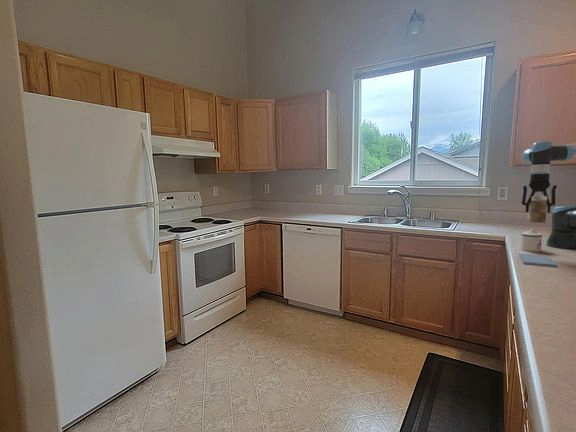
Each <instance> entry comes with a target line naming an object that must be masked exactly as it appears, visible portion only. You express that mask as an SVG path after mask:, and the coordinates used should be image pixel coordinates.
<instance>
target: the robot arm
mask: <svg viewBox="0 0 576 432" xmlns="http://www.w3.org/2000/svg"><path fill="white" fill-rule="evenodd" d="M522 158H523V160H524V162H525V163H530V164H531V165H530V173H531V174H530V179H529V181H530V182H529V183H528V184H525V185H522V197H521V198H522V199H521V205H523V206H525V213H527V219H528V220H529V219H530V213H531V206H530V202H531V197H532V196H535V193H536V192H537V193H539V192H541V193H542V196H547V207H546V221H547V220H548V214H550V212H551V207H552V206H555V207H554V208H553V210H552V214H551V216H552V218H551V232H550V234H549V235H548V238H547V240H546V246H547V247H551V248H559V249H566V250H567V249H568V250H569V249H570V250H576V205H569V206H568V205H567V206H566V205H565V206H556V190H557V188H558V187H557V185H555V184H551V183H550V176H551V175H550V171H551V162H565V161H569V160H572V158H576V142H574V143H566V144H559V145H558V144H557V145H552V141H537V142H534V143H532V147H531V148H528V149H526V150H524V152H523V155H522ZM529 188H530V189H531V191H530V194H529V196H528V199H527V192H528V190H529ZM548 188H549V189H550V193H551V194H550V195H551V196H550V199H551V201H550V199H549V196H548V193H547V189H548ZM526 199H527V200H526Z"/></svg>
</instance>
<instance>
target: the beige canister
mask: <svg viewBox="0 0 576 432" xmlns="http://www.w3.org/2000/svg"><path fill="white" fill-rule="evenodd" d="M529 206H531V213H530V219H528V221H529V222H530V223H544V224H545V223H546V221H547V220H546V207H547V196H544V195H534V196H532V197H531V202H530V205H529Z"/></svg>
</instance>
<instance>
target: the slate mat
mask: <svg viewBox="0 0 576 432" xmlns="http://www.w3.org/2000/svg"><path fill="white" fill-rule="evenodd" d="M518 256H519V259H520V260H521V262H522V264H523V265H531V266H543V267H551V268H553V267H554V268H557V264H556V262H555V261H554V260H553V259H552V258H551V257H550V256H549V255H544V254H543V255H541V254H530V253H529V254H528V253H518Z"/></svg>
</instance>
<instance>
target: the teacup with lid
mask: <svg viewBox="0 0 576 432" xmlns="http://www.w3.org/2000/svg"><path fill="white" fill-rule="evenodd" d="M542 238H543V234H542V233H540V232H538V231H535V229H534V228H530V229H529V230H528V231H527V230H526V231H524V232H522V233H521V244H520V245H521V246H520V247H521V248H520V250H522V251H524V252H525V251H526V252H532V253H533V252H534V253H536V252H537V253H540V252H541V250H542V242H543V241H542V240H543V239H542Z"/></svg>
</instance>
